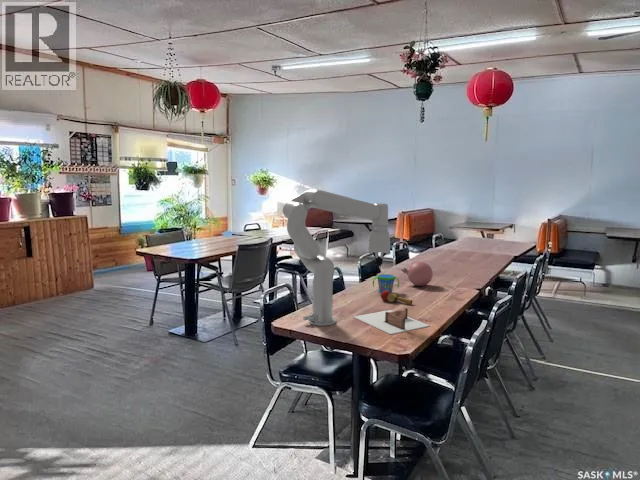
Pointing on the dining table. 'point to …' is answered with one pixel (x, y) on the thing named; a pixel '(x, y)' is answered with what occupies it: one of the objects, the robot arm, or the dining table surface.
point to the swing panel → (400, 313)
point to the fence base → (394, 320)
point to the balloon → (419, 273)
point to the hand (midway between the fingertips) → (379, 265)
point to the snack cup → (385, 282)
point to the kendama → (394, 297)
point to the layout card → (379, 323)
